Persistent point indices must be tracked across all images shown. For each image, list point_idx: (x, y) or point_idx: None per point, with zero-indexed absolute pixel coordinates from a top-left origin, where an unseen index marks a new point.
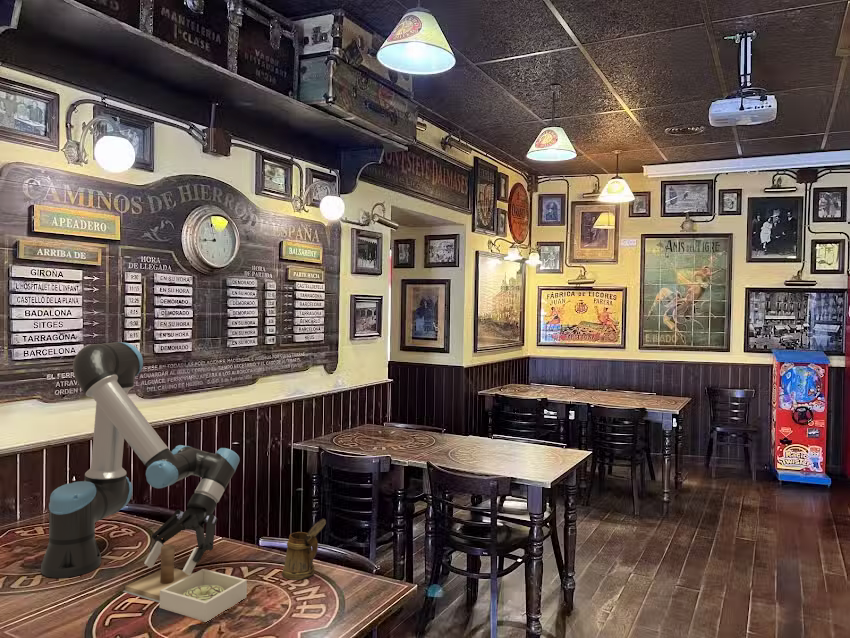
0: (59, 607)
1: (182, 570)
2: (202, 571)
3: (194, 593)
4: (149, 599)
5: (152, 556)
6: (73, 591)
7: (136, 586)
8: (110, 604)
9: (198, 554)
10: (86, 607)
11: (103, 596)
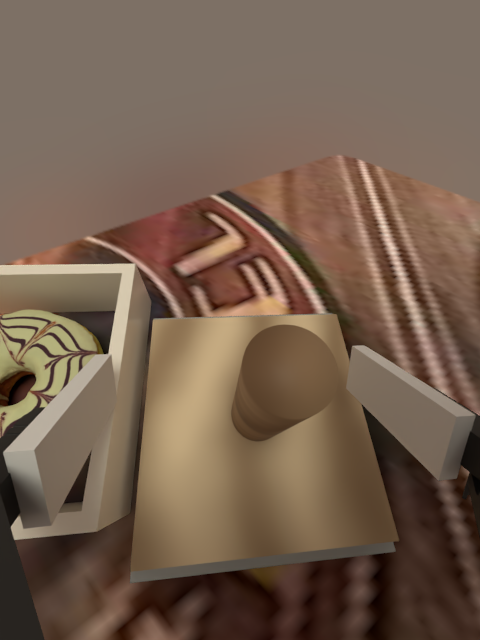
0: (366, 218)
1: (110, 355)
2: (85, 501)
3: (31, 346)
4: (217, 317)
5: (376, 378)
6: (434, 270)
7: (306, 328)
8: (293, 268)
9: (3, 438)
10: (322, 239)
11: (351, 286)
